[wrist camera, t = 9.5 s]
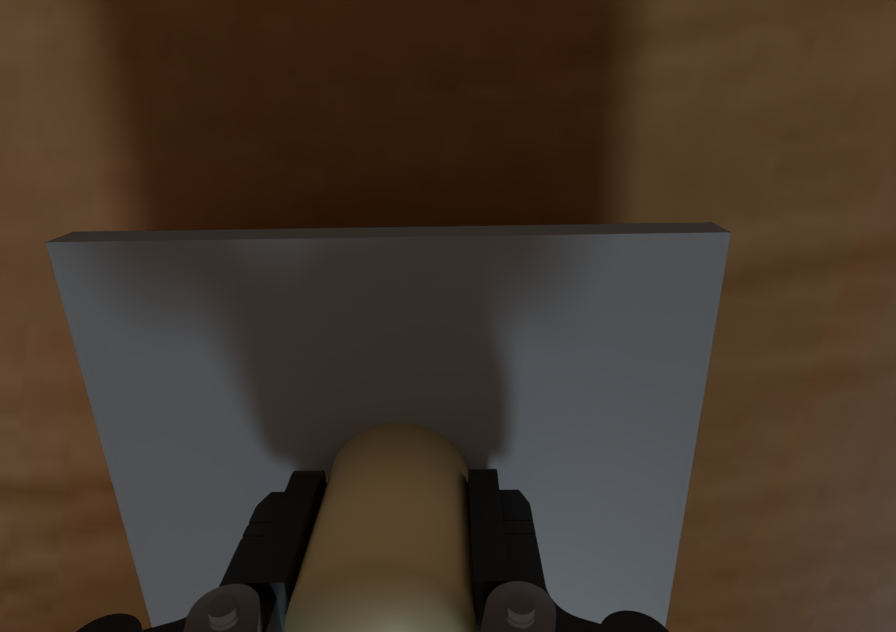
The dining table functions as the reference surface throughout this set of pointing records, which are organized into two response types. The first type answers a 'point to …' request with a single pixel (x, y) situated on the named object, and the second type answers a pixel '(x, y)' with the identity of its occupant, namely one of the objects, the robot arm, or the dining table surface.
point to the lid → (399, 403)
